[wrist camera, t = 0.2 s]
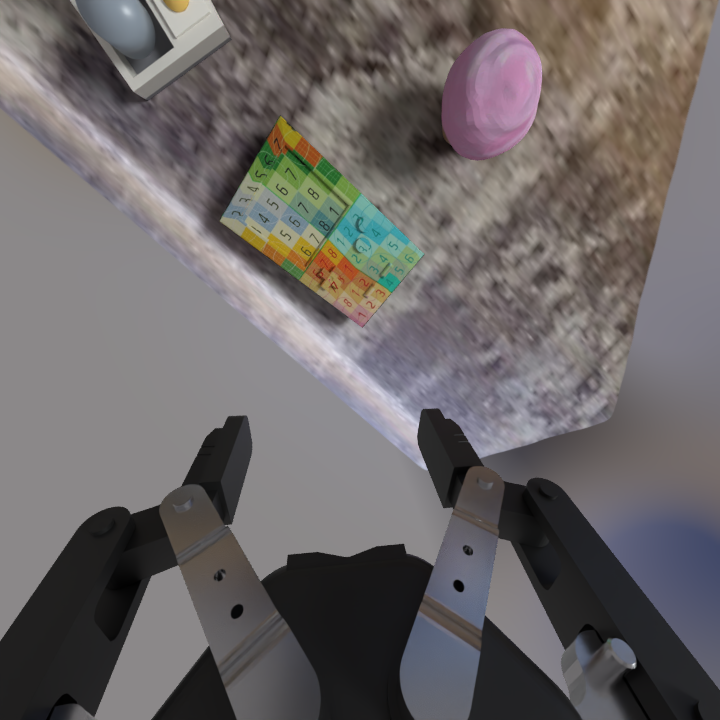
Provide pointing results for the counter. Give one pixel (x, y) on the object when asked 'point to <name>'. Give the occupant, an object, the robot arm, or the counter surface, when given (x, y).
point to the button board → (167, 51)
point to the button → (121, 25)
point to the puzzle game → (319, 226)
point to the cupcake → (491, 94)
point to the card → (182, 14)
